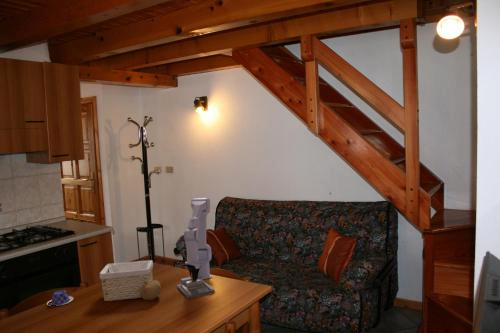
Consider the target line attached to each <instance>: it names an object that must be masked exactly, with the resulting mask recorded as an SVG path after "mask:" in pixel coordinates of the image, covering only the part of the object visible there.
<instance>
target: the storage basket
mask: <svg viewBox="0 0 500 333" xmlns="http://www.w3.org/2000/svg"><path fill="white" fill-rule="evenodd" d="M153 261H154V260H152V259H150V260H139V261H128V262H115V263H107V264H106V265H105V266H104V267H103V269H102V270H101V271H100V272H99V279H100V280H101V286H102V287H101V290H102V293H103V299H104V302H113V301H123V300H132V299H133V300H134V299H140V298H141V299H142V297H141V296H140V290H141V288H142V287H143V286H144V285H145V284H147V283H148V282H150V281H152V280H154V279H153V278H154V277H153V267H154V262H153Z"/></svg>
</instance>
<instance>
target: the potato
mask: <svg viewBox="0 0 500 333" xmlns="http://www.w3.org/2000/svg"><path fill="white" fill-rule="evenodd" d="M161 285H162V284H161V282H160V281H158V280H157V279H153V280H152V281H150V282H148V283H147V284H145V285H144V286H143V287H142V288H141V290H140V296H141V299H142V300H146V301H153V300H156V298H157V297H159V296H160V295H161V292H162V286H161Z"/></svg>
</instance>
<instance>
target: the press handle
mask: <svg viewBox="0 0 500 333" xmlns="http://www.w3.org/2000/svg"><path fill="white" fill-rule="evenodd" d="M190 277H191V281H187V282H186V287H187V288H191V287H196V286H201V285H203V280H204V279H203V280H202V279H197V280H193V278H192V273H191V276H190Z"/></svg>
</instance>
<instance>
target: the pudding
mask: <svg viewBox="0 0 500 333" xmlns="http://www.w3.org/2000/svg"><path fill="white" fill-rule="evenodd" d="M69 299H70V300H69ZM73 300H74V297H73V296H72V295H70V296H69V295H68V292H67V290H64V289H62V290H61V289H60V290H57V291H54V292H53V294H52V298H51V299H50V300H48V301H47V302H46V306H50V307H52V306H51V305H52V304H54V305H56V306H55V307H58V306H59V307H60V306H64V305H66V304H69V303H70V302H72V301H73ZM51 301H52V303H51V305H48V303H49V302H51Z"/></svg>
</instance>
